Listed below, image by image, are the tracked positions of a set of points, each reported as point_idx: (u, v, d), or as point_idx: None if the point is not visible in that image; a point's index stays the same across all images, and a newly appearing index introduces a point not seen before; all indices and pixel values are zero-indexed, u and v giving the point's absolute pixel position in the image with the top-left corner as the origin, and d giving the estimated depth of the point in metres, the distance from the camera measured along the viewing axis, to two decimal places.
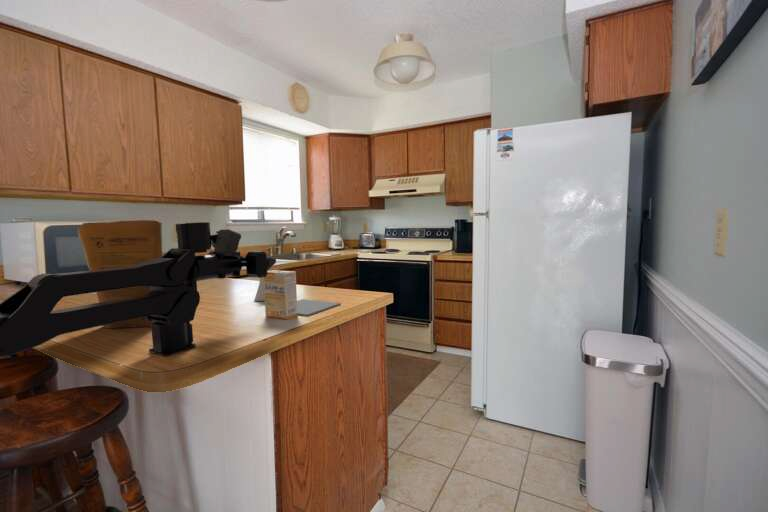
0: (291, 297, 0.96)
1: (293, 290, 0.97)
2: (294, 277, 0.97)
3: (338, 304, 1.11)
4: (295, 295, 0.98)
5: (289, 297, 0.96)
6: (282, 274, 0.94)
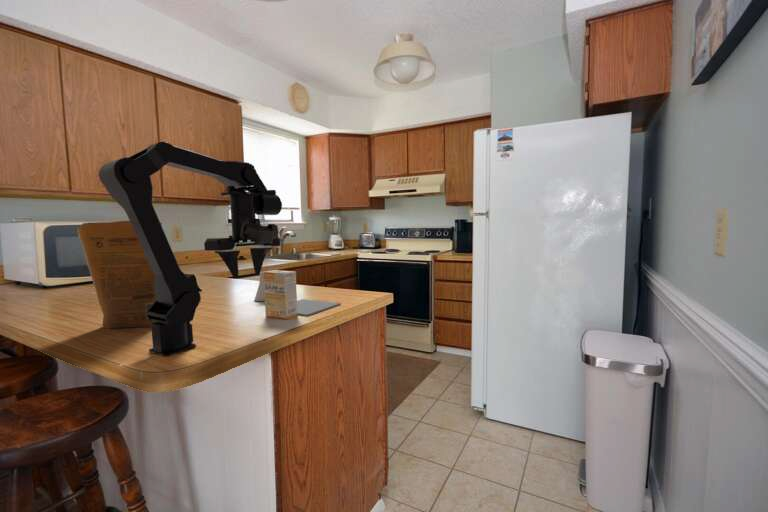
0: (291, 297, 0.96)
1: (293, 291, 0.97)
2: (294, 277, 0.97)
3: (338, 304, 1.11)
4: (295, 295, 0.98)
5: (289, 297, 0.96)
6: (282, 274, 0.94)
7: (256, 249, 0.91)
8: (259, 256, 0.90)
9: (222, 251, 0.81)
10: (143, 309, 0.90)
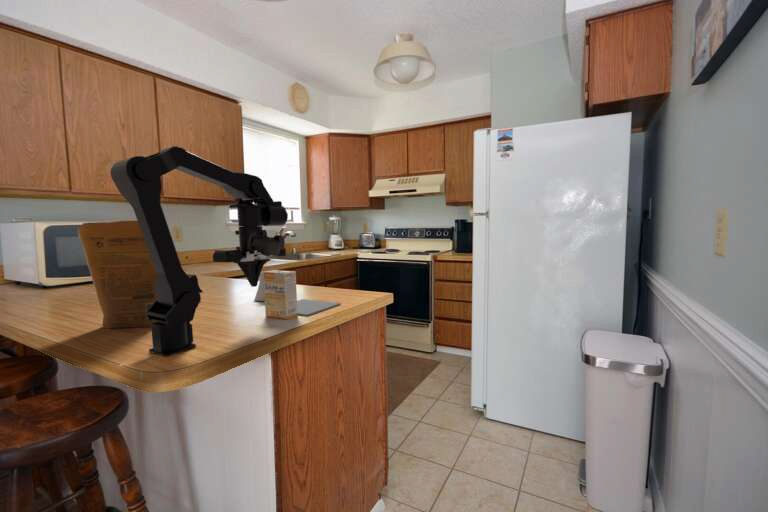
0: (291, 297, 0.96)
1: (293, 290, 0.97)
2: (294, 277, 0.97)
3: (338, 304, 1.11)
4: (295, 295, 0.98)
5: (289, 297, 0.96)
6: (282, 274, 0.94)
7: None
8: (256, 268, 0.89)
9: (241, 261, 0.86)
10: (143, 309, 0.90)
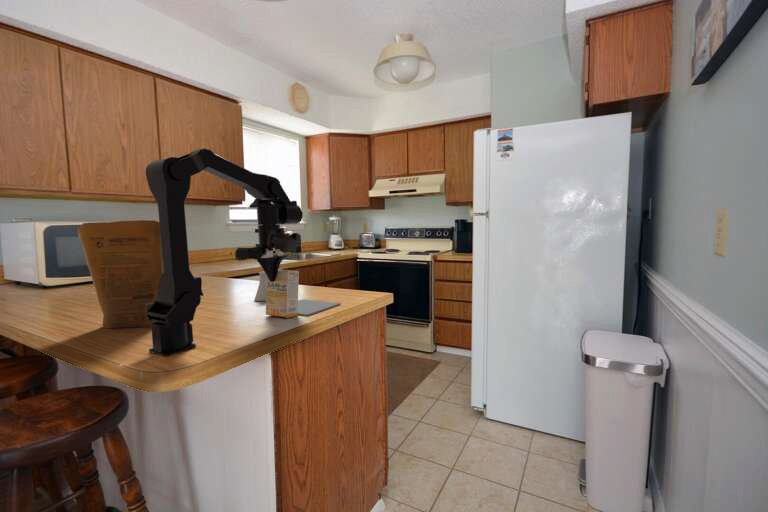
0: (292, 296, 0.97)
1: (295, 289, 0.97)
2: (297, 276, 0.98)
3: (338, 304, 1.11)
4: (297, 294, 0.98)
5: (291, 296, 0.96)
6: (285, 272, 0.95)
7: None
8: (274, 264, 0.95)
9: (261, 258, 0.91)
10: (143, 309, 0.90)
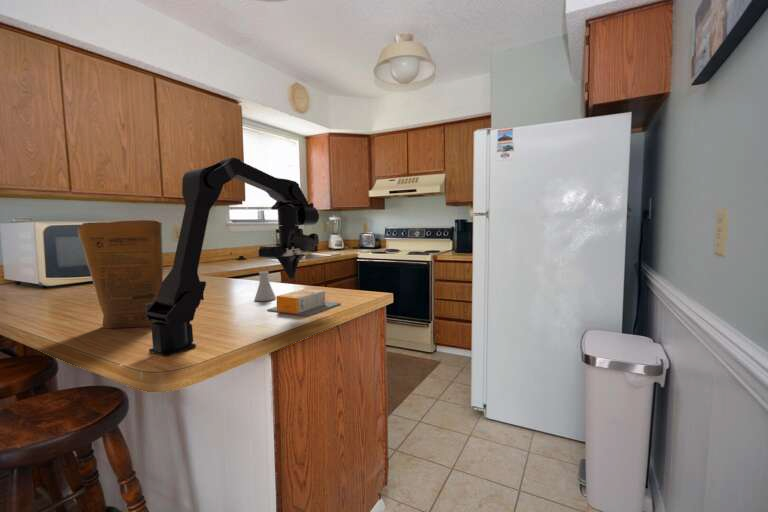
0: (310, 302, 1.03)
1: (314, 303, 1.05)
2: (322, 303, 1.08)
3: (338, 304, 1.11)
4: (311, 307, 1.04)
5: (310, 299, 1.03)
6: (322, 290, 1.09)
7: None
8: (293, 262, 1.01)
9: (281, 256, 0.98)
10: (143, 309, 0.90)
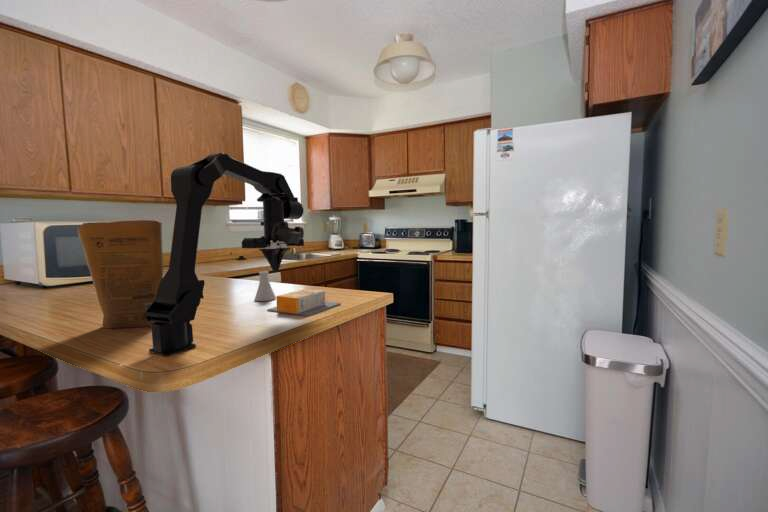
0: (310, 302, 1.03)
1: (314, 303, 1.05)
2: (322, 303, 1.08)
3: (338, 304, 1.11)
4: (311, 307, 1.04)
5: (310, 299, 1.03)
6: (322, 290, 1.09)
7: None
8: (278, 255, 1.00)
9: (265, 248, 0.97)
10: (143, 309, 0.90)
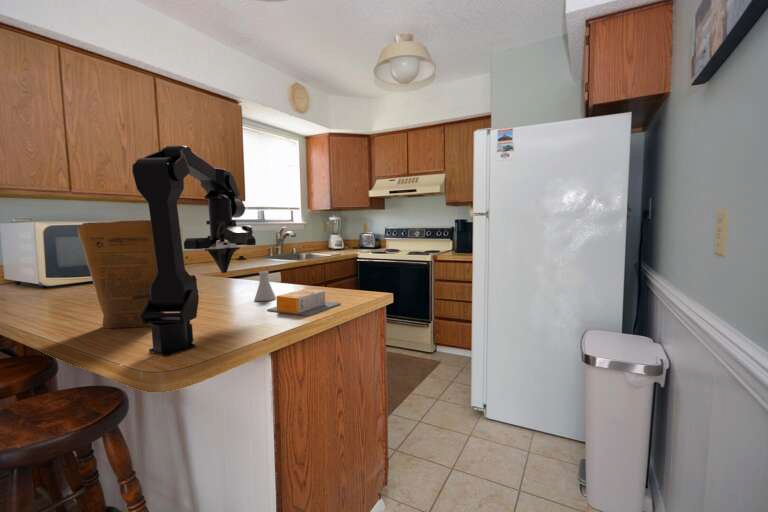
0: (310, 302, 1.03)
1: (314, 303, 1.05)
2: (322, 303, 1.08)
3: (338, 304, 1.11)
4: (311, 307, 1.04)
5: (310, 299, 1.03)
6: (322, 290, 1.09)
7: None
8: (226, 255, 0.96)
9: (211, 249, 0.93)
10: (143, 309, 0.90)
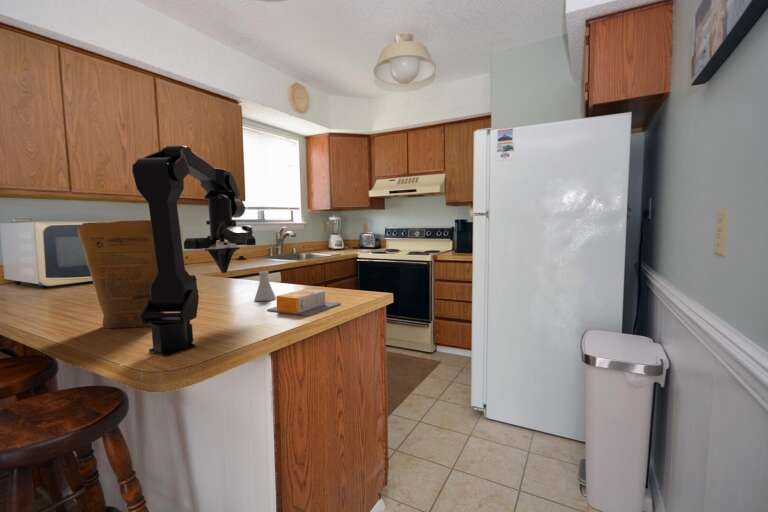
0: (310, 302, 1.03)
1: (314, 303, 1.05)
2: (322, 303, 1.08)
3: (338, 304, 1.11)
4: (311, 307, 1.04)
5: (310, 299, 1.03)
6: (322, 290, 1.09)
7: None
8: (226, 255, 0.96)
9: (211, 249, 0.93)
10: (143, 309, 0.90)
